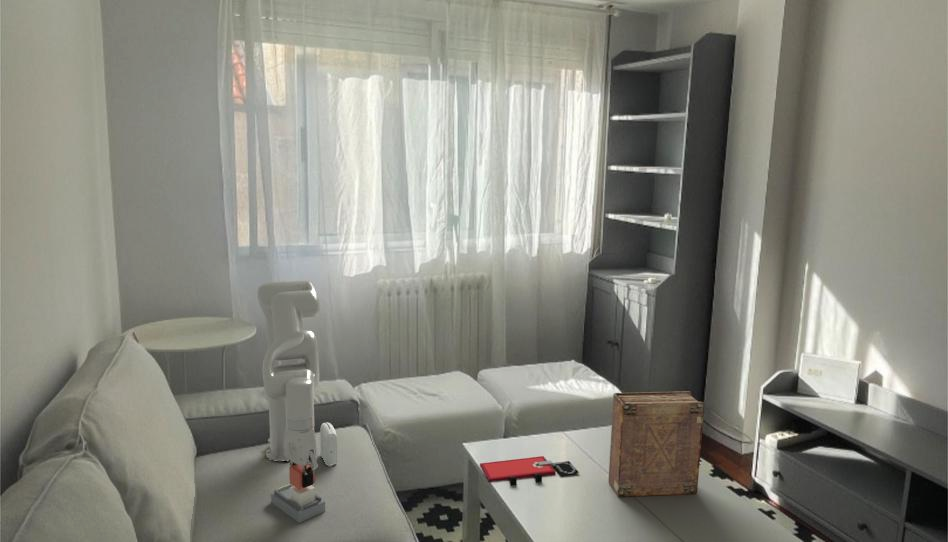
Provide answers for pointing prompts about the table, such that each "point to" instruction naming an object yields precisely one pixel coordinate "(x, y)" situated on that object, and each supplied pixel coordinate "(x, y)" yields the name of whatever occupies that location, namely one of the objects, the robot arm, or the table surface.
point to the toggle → (302, 495)
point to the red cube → (298, 475)
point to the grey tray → (292, 509)
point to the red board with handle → (524, 469)
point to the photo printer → (328, 443)
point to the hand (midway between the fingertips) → (302, 481)
